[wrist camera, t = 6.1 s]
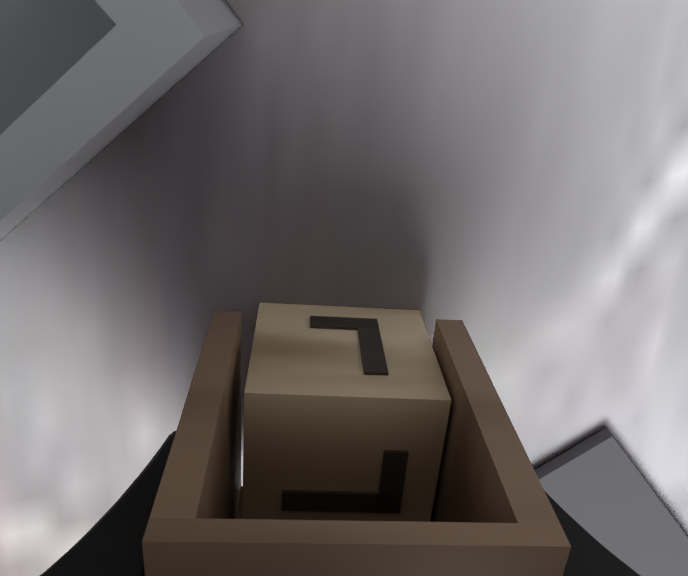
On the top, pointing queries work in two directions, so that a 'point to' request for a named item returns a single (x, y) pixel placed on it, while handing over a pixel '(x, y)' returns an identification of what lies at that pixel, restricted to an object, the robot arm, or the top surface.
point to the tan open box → (353, 536)
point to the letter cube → (342, 415)
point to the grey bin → (87, 81)
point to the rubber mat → (616, 506)
